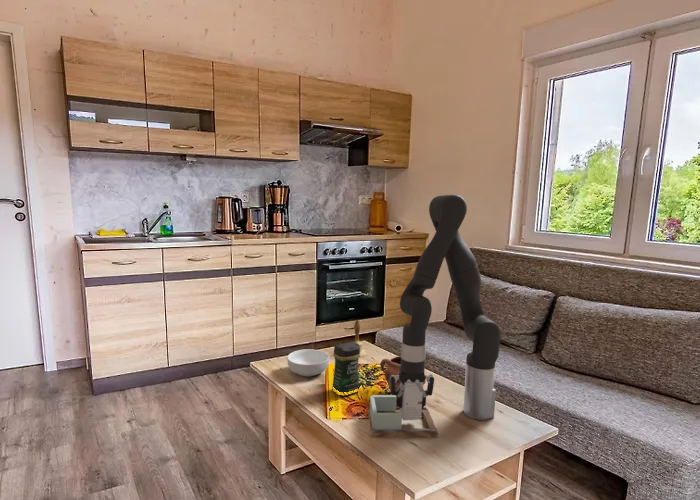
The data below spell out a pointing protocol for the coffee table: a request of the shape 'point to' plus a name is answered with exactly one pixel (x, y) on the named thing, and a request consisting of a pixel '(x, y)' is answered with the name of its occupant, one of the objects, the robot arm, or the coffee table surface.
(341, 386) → the coffee jar
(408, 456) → the coffee table surface
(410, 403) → the skincare box
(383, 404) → the bracket
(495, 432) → the coffee table surface
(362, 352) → the hand bell
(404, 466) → the coffee table surface
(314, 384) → the coffee table surface
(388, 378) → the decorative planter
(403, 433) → the board
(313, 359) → the cereal bowl
